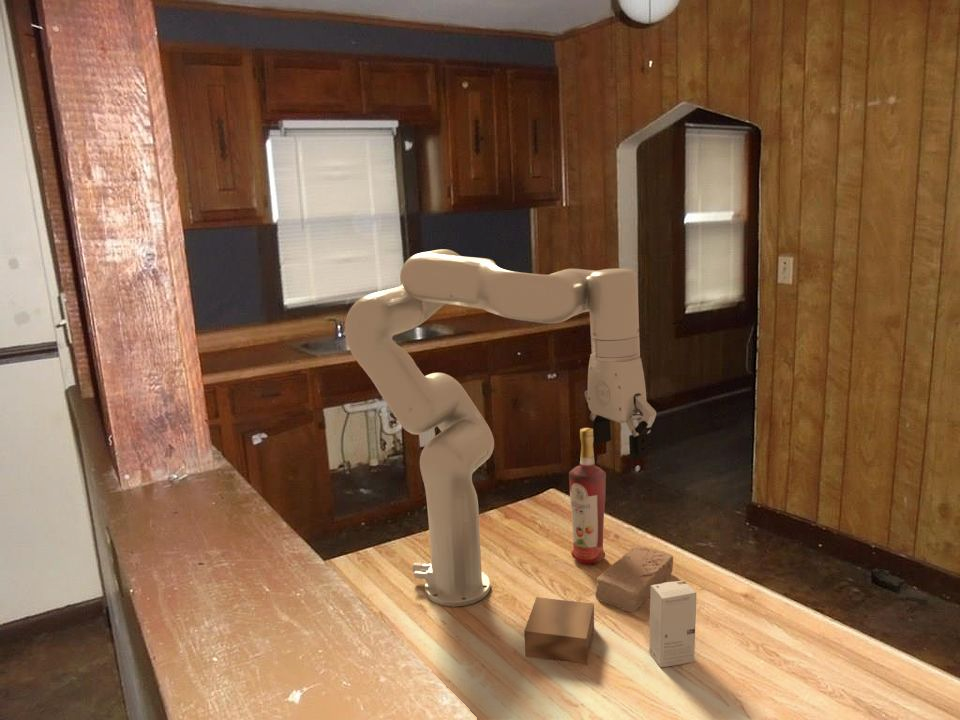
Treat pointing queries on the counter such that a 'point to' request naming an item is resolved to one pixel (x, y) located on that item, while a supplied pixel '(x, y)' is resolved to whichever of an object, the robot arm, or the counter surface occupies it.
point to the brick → (633, 577)
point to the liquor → (587, 504)
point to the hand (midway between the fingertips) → (620, 449)
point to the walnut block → (559, 630)
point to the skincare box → (672, 623)
